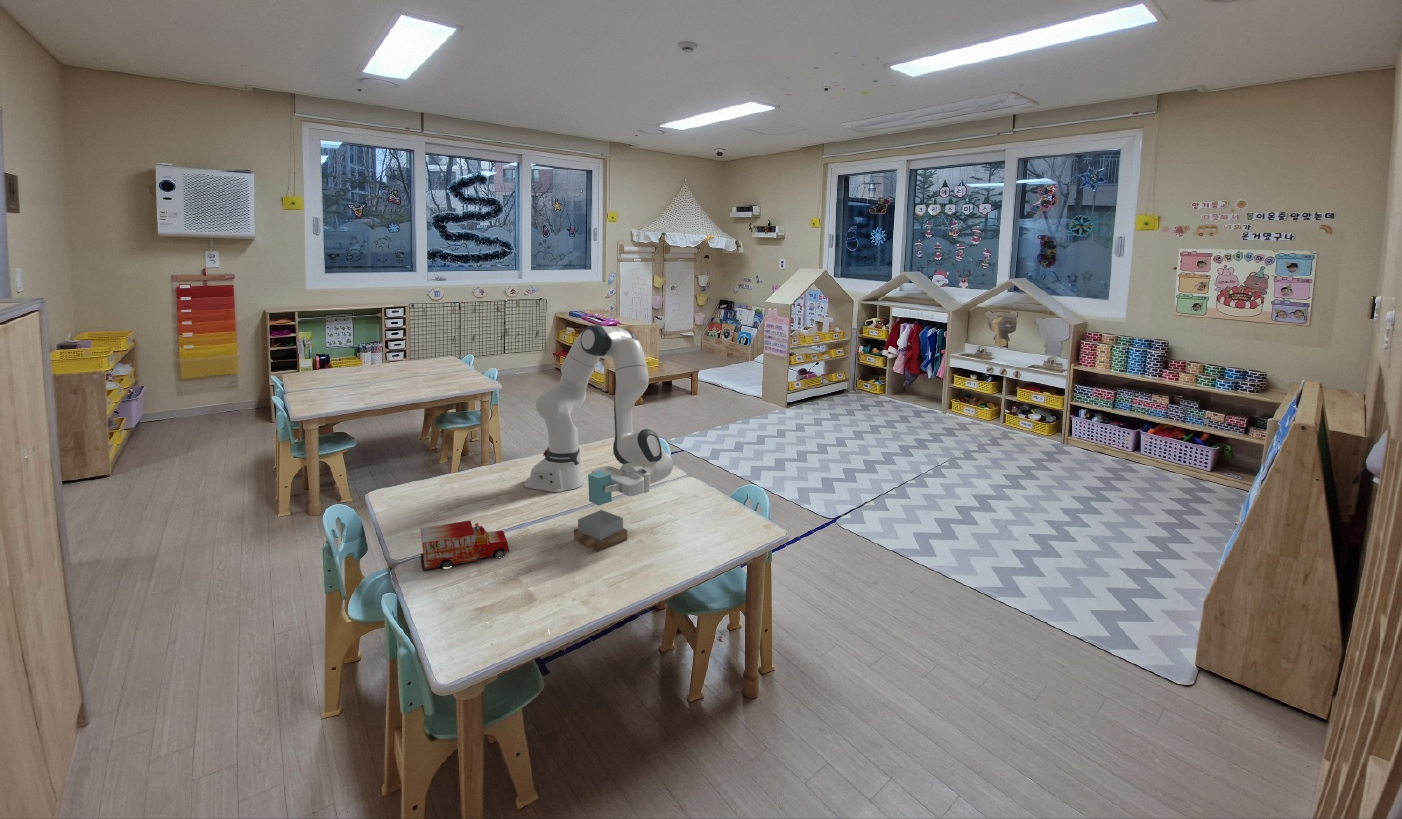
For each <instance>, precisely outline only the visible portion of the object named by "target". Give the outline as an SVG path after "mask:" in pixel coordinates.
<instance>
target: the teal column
mask: <svg viewBox="0 0 1402 819" xmlns="http://www.w3.org/2000/svg"><path fill="white" fill-rule="evenodd" d="M587 482H588V484H587V485H588V501H589V502H590V503H592V504H594V505H596V506H601V505H602V506H603V505H605V504H608V503H610V502H612V500H613V498H612V492H607V493H606V492H604V491H603V486H606V485H608V486H609V485H611V474H609V473H606V472H604V471H601V470H600V471H597V472H594V473H592V472H591V473H588V474H587Z"/></svg>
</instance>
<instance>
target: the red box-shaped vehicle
mask: <svg viewBox="0 0 1402 819" xmlns="http://www.w3.org/2000/svg"><path fill="white" fill-rule="evenodd" d="M420 533H421V545H422V553H420V558H421V559H420V561H421V571H424V570H425V571H426V570H431V568H432V569H436V568H435V567H437V568H440V566H441V568H442V567H450V566H454V565H459V564H465V563H471V562H477V559H484V558H488V557H489V558H490V557H493V556H495V558H496V559H500V558H499V557H502V558H504V557H505V556H506V553H508V552H510V548H509V544H508V540H507V538H506V535H505V531H504V530H496V531H487V530H486V529H485V527H483V526H482V525H479V523H478V522H477V523H475V524H474V527H473V524H472V521H471V520H465V521H457V522H451V523H444V524H437V525H433V526H424V527H420ZM503 556H504V557H503Z"/></svg>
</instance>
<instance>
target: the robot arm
mask: <svg viewBox="0 0 1402 819" xmlns="http://www.w3.org/2000/svg"><path fill="white" fill-rule="evenodd" d="M601 358H604V359H605V358H606V359H612V360H613V365H614V373H615V393H614V398H613V411H614V412H613V415H614V416H613V417H614V440H613V446H612V447H613V448H612V450H613V455H614V457H615V459H616V460H617V462H619V463H620V464H621V466H620V468H616V467H614V466H611V465H609V466H608V465H607V466H602V467H598V468H594V469H592V470H591V473H594V472H597V471H600V470H601V471H604V472H606V473H609V474H611V485H609V486H608V485H606V486H603V491H604V492H606V493H607V492H611V493H612V492H616V493H617V492H618V493H621V494H622V495H623V494H624V495H626V496H628V497H635V496H639V495H642V494H643V493H644V494H647V493H649V492H650V488H651V487H650V484H655V483H658V482H660V481H661V480H664V479H666V478H668V476H670V475H671V473H672V472H673V470H674V462H673V459H672V457H671V455H670V454H668V453H667V452H666V451H665V449H664V448H663V446H662V445H661V441H660V438H659V435H657V433H656V432H655V431H653V430H651V429H649V428H644V429H641V430H638V431H636V432H634V429H633V409H634V406H635V404H636V403H637V401H639V400H638V399H640V397H642V395H643V394H644V393H645V392H646V390H647V389H648V386H649V380H650V379H649V378H650V376H649V370H648V369H649V368H648V364H647V358H646V356H645V353H644V348H643V347H642V344H641V342H640V341H639V339H638V337H637V334H636V333H634V332H633V331H631V330H630V329H627V328H621V327H618V326H613V325H610V326H608V325H599V324H593V325H588V326H586V327H585V328H584V329H583V331H581V333H579V335H578V336H577V337H576V339H575V341H574V342H573V344H572V345H571V348H570V349H569V351H568V353H567V355H566V357H565V359H564V361H563V363H562V366H561V368H560V373H561V376H560V381H559V382H558V384H557V385H556V386H554V387H552V388H550V389H548V390H546V391H544V392H543V393H542V394H541V395H540V396H539V397H538V398H537V399H536V401H535V402H536V403H535V409H536V412H537V413H538V415H539V416H540V417H541V418H542V419H543V420H544V423H545V426H546V428H547V435H548V439H547V440H548V447H546V449H545V450H544V452H542V456H543V457H544V458H543V459H541V460H540V461H539V462H537V463H536V464H535V465H534V466H533V468H532V469H531V471H530V474H529V475H530V476H529V477H528V478H526V479H525V481H524V484H523V485H524V488H527V489H533V490H539V491H544V492H545V491H546V492H550V493H551V492H552V493H562V492H564V491H570V490H574V489H575V490H576V489H577V488H580V487H582V486H583V485H584V483H585V482H584V479H583V475H582V472H581V465H580V462H581V453H580V447H579V431H578V428H577V426H576V425H575V424H574V423H573V420H572V416H571V415H572V412H575V411H576V410H578V409H579V408H580V407H581V406H582V405H583V404H584V403H585V401H586V400H587V392H586V391H587V387H588V383H589V381H590V379H591V377H592V375H593V373H594V371H595V369H596V367H597V365H598V364H599V361H600V359H601Z"/></svg>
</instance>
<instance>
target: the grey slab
mask: <svg viewBox="0 0 1402 819" xmlns="http://www.w3.org/2000/svg"><path fill="white" fill-rule="evenodd" d="M577 528H578V531H579V532H581V533H584V534H586V535H588V536H591V537H593V538H596V539H598V540H602V539H604V538H606V537H608V536H611V535H613V534H615V533H617V532H619V531H621V530H623V528H624V518H623V517H621V516H618V515H616V514H613V513H611V512H608V511H605V510H603V509H599V510H598V511H595V512H592V513H589V514H587V515H585V516H583V517H581V518H578V519H577Z"/></svg>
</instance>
